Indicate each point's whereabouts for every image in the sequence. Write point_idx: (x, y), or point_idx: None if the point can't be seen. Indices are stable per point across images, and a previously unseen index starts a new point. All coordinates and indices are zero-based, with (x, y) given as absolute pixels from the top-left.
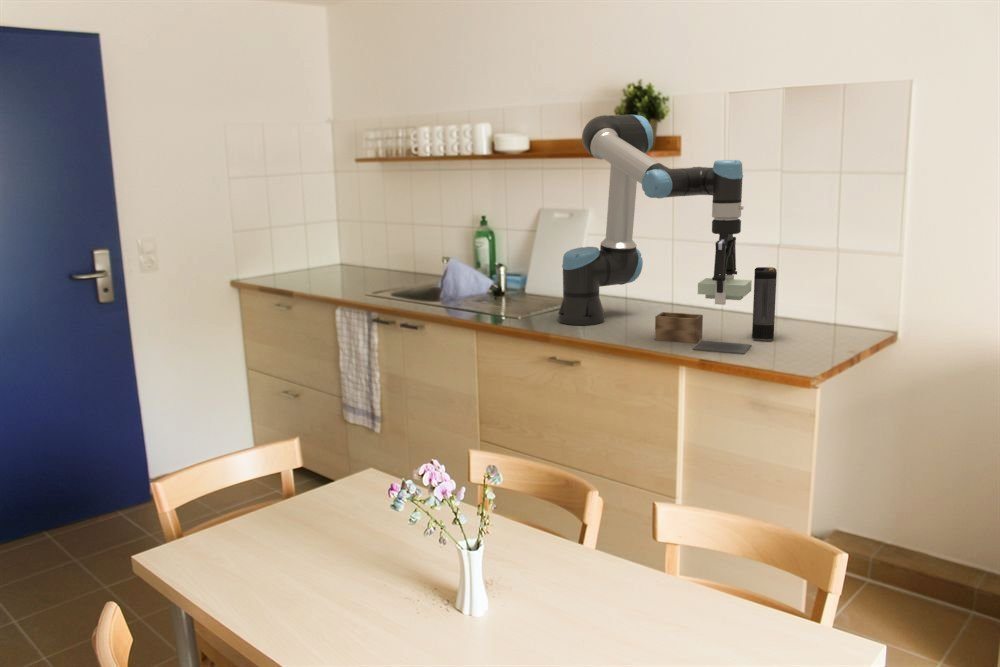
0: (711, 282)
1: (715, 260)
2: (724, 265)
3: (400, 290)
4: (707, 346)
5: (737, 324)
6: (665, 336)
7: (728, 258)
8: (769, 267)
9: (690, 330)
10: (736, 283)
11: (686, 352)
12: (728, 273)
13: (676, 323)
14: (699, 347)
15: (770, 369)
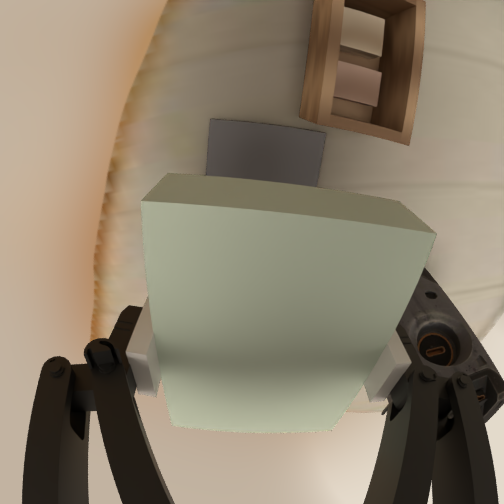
0: (214, 301)
1: (26, 481)
2: (83, 476)
3: None
4: (248, 158)
5: (497, 220)
6: (314, 21)
7: (374, 501)
8: (488, 418)
9: (309, 99)
10: (216, 408)
11: (174, 108)
12: (401, 387)
13: (322, 45)
14: (228, 136)
15: (106, 309)
